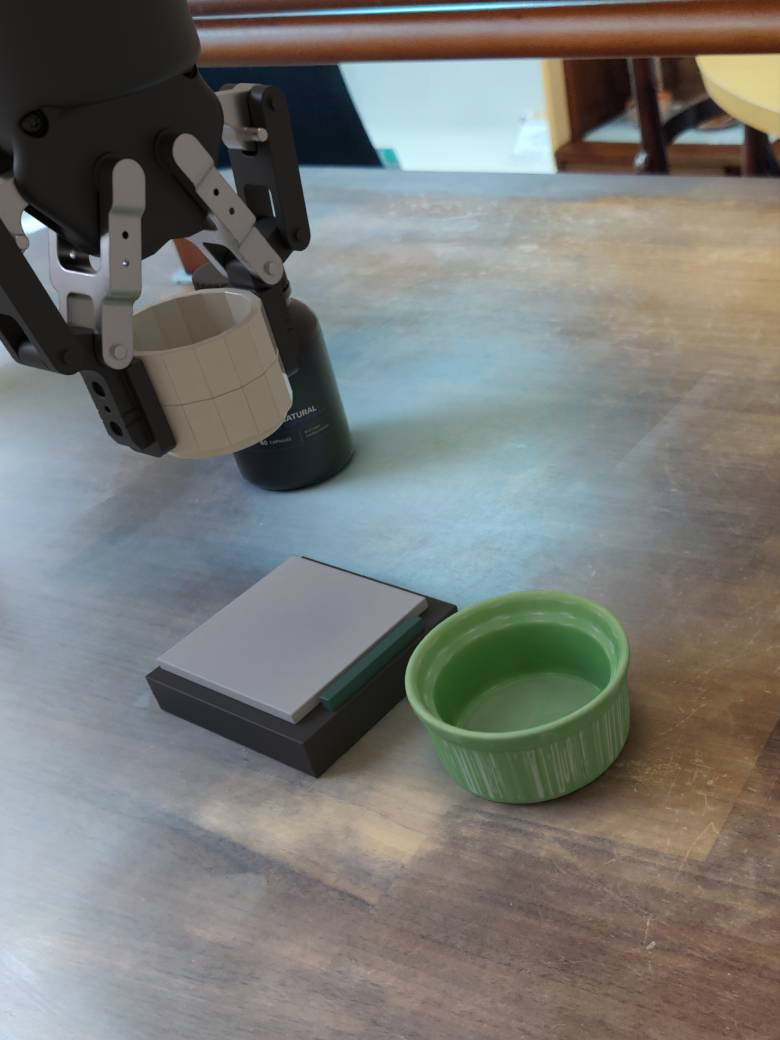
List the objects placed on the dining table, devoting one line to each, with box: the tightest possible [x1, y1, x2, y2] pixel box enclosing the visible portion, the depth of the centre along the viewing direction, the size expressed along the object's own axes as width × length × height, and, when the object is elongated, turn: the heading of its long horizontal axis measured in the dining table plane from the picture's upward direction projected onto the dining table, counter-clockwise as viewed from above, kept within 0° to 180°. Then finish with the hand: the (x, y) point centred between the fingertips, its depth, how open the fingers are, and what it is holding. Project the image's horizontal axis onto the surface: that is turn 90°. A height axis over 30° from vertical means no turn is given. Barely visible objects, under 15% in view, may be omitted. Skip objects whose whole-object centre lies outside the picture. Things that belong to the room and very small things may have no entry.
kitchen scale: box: [144, 555, 459, 778], centre depth 54 cm, size 10×10×3 cm
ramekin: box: [405, 589, 631, 805], centre depth 49 cm, size 9×9×4 cm
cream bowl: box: [133, 288, 292, 460], centre depth 46 cm, size 6×6×4 cm
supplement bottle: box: [191, 260, 354, 491], centre depth 67 cm, size 7×7×12 cm
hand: (217, 408), depth 47 cm, fingers closed on cream bowl, 6 cm apart
